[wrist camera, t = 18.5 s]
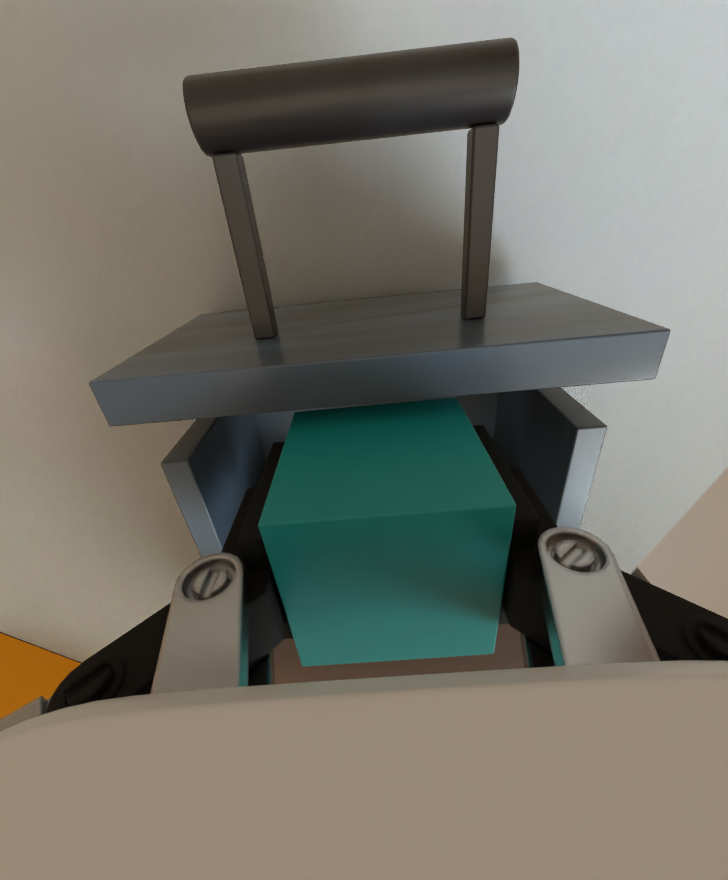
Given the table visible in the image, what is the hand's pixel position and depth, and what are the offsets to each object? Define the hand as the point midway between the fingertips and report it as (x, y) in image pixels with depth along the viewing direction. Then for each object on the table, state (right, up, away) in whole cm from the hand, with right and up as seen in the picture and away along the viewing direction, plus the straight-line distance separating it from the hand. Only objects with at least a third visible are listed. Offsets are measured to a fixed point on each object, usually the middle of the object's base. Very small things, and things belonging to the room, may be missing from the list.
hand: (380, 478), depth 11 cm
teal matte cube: (0, 0, 0) cm, 0 cm away
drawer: (0, +3, +6) cm, 7 cm away
